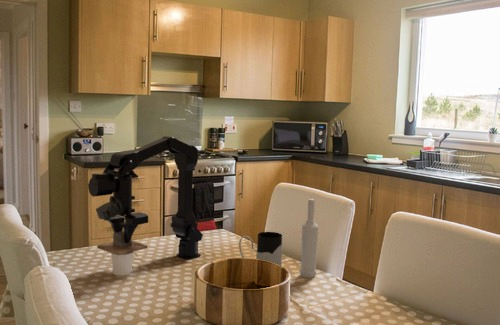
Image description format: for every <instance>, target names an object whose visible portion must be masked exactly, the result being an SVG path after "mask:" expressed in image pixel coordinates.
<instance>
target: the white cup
mask: <svg viewBox="0 0 500 325" xmlns="http://www.w3.org/2000/svg"><path fill="white" fill-rule="evenodd" d="M110 254H111V255H110V256H111V264H112V265H111V266H112V273H113V275H115V276H118V277H119V276H120V277H121V276H127V275H128V276H129V275H130V274H132V269H133V260H134V252H130V253H126V254H122V255H116V254H113V253H110Z"/></svg>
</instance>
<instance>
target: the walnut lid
mask: <svg viewBox="0 0 500 325" xmlns="http://www.w3.org/2000/svg"><path fill="white" fill-rule="evenodd" d="M112 236H113V237H112V238H113V239H112V240H113V241H112V242H106V243H101V244H97V246H96V248H97V249H99V250H102V251H105V252H108V253H110V254H111V253H113V254H116V255H122V254H126V253H130V252H133V253H134V252H137V251H141V250H145V249H148V245H147V244H143V243H141V242H137V241H134V240H132V239H133V236H132V237H131V239H130V241H129V243H125V239H124V230H122V231H121V232H116V233H114V232H113V235H112Z"/></svg>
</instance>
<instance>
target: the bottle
mask: <svg viewBox="0 0 500 325" xmlns="http://www.w3.org/2000/svg"><path fill="white" fill-rule="evenodd" d="M307 200H308V201H307V219H306V221H305V222H304V223H302V225H301V226H302V227H301V254H300V255H301V258H300V260H301V262H300V270H299V275H300V276H301V277H303V278H307V279H312V278H313V279H314V278H315V277H316V275H317V269H316V268H317V251H318V236H319V225H318V224H317V223H316V221H315V202H316V200H315V199H313V198H308V199H307Z"/></svg>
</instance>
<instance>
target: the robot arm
mask: <svg viewBox="0 0 500 325" xmlns="http://www.w3.org/2000/svg"><path fill="white" fill-rule="evenodd" d="M164 152H168V153H170V154H172V155H173V158H174V163H175V166H176V168H177V170H178V179H177V180H178V183H177V184H178V186H177V187H178V188H177V191H178V192H177V212H175V215H172V216H171V225H170V227H171V228H172V232H173V233H175V238H176V239H179V244H178V253H176V254H175V256H176V257H179V258H182V259H184V260H185V259H186V260H191V259H194V258H198V257H201V256H202V254H201V253H199V242H200V241H201V242H202V239H203V236H204V234H203V233H202V232H201V231H200V230H199V229H198V227H197V220H196V216H195V214H194V212H193V186H194V185H193V184H194V170H195V167H196V166H197V164H198V161H199V149H198V148H197V147H196V146H195V145H193V144H192V145H191V144H187V143H185V142H183V141H181V140H179V139H178V138H175V136H169V135H165V136H162V137H161V138H159V139H157V140H154V141H152V142H149V143H147V144H145V145H142V146H139V147H138V148H135V149H130V150H129V149H128V150H122V151H121V150H120V151H117V152H114V153H113V154H112V155H111V157H110V161H109V162H108V164H107V166H106V167H105V168H104V170H103V171H102V173H91V178H90V179H89V181H88V184H87V189H88V193H89V194H90V196H91V197H94V198H95V197H101V196H109V201H108V202H106V203H103V204H102V205H100V206H98V207H97V208H96V209H95V210H96V214H97V216H98V220H103V221H106V222H108V224H110V225H111V228H112V231H113V233H116V232H121V231H124V239H125V243H129V241H130V239H131V237H132V238H133V235H134V232H135V230H136V229H137V227H138V226H139V225H143V224H144V225H145V224H149V215H148V214H147V213H143V212H141V211H138V212H136V209H135V208H133V200H136V196H135V195H133V179H138V178H139V175H138V174H137V173H136V172H135V171H134V170H136V168H138V167H139V166H141V163H143V162H144V161H147V160H149V159H151V158H154V157H156V156H157V155H160V154H162V153H164ZM110 195H111V196H110Z"/></svg>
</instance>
